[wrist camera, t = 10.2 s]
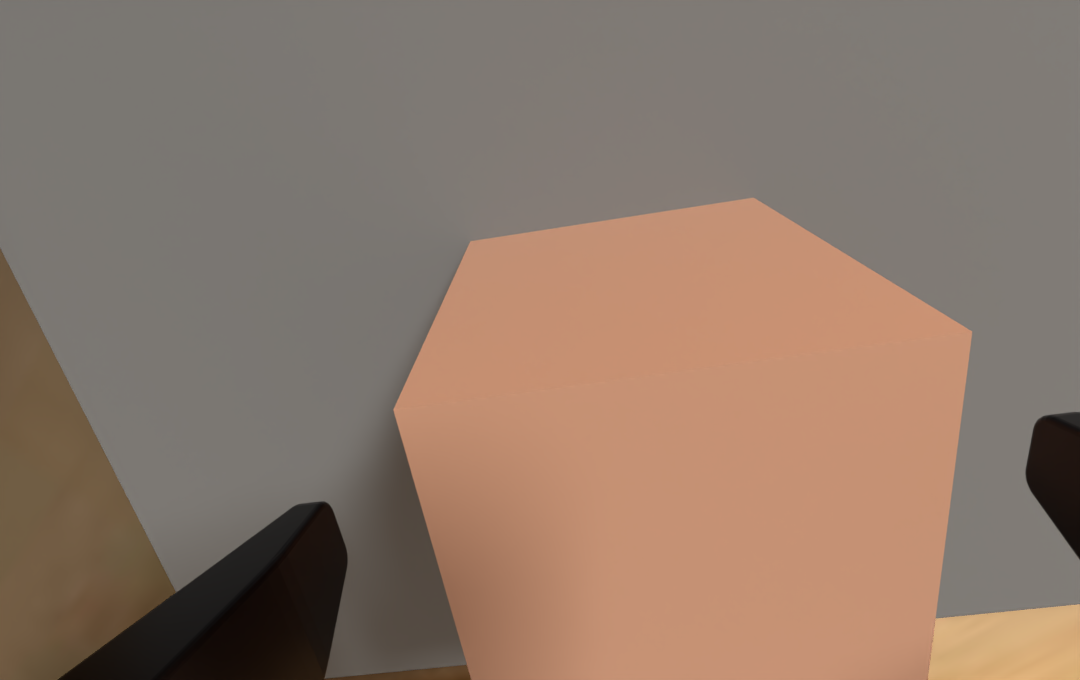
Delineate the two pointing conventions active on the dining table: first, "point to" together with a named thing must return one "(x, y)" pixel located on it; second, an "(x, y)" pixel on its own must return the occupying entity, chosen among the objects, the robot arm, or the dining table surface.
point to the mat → (508, 231)
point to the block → (686, 453)
